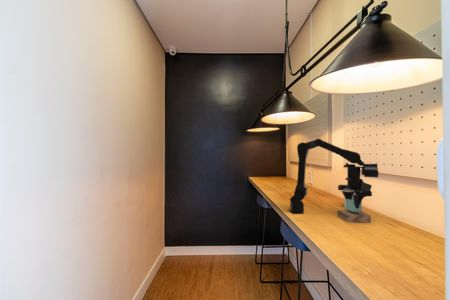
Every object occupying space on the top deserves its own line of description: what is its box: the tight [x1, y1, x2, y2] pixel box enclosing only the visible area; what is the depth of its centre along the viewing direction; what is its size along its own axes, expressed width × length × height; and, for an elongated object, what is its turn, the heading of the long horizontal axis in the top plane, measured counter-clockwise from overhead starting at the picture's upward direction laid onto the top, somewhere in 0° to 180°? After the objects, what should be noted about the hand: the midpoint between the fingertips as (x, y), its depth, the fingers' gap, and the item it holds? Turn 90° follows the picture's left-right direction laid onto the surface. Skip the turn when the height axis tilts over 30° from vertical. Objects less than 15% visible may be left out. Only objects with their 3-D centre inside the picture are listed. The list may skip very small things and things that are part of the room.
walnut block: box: [337, 209, 372, 224], centre depth 114 cm, size 11×10×4 cm
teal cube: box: [345, 199, 363, 212], centre depth 114 cm, size 5×5×5 cm
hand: (353, 206), depth 114 cm, fingers open, 5 cm apart
